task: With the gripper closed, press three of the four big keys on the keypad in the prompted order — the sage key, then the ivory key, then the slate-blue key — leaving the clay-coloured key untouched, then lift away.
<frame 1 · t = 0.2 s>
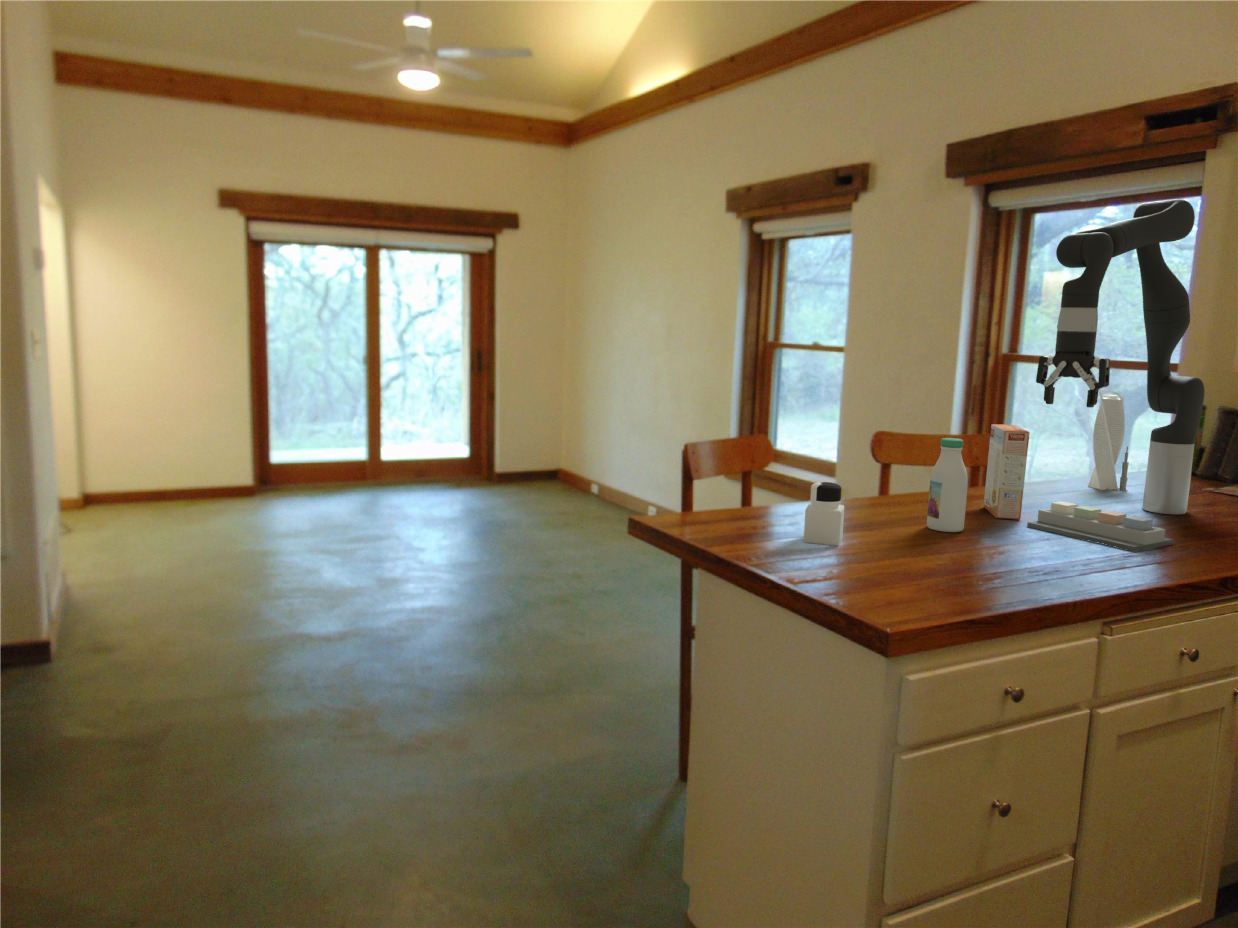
hand: (1069, 405, 190), 28 cm above the table, tool pointing down, fingers open, 8 cm apart
key ivory: (1063, 509, 197), point 4 cm above the table, slide at 0.0 cm
cracker box: (1001, 514, 211), on the table
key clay: (1111, 519, 188), point 4 cm above the table, slide at 0.0 cm
milk bottle: (944, 529, 194), on the table
key slate: (1137, 524, 183), point 4 cm above the table, slide at 0.0 cm
keypad: (1097, 535, 191), on the table
skyscraper: (1103, 490, 247), on the table
medicine bottle: (823, 541, 181), on the table
key sage: (1087, 514, 192), point 4 cm above the table, slide at 0.0 cm
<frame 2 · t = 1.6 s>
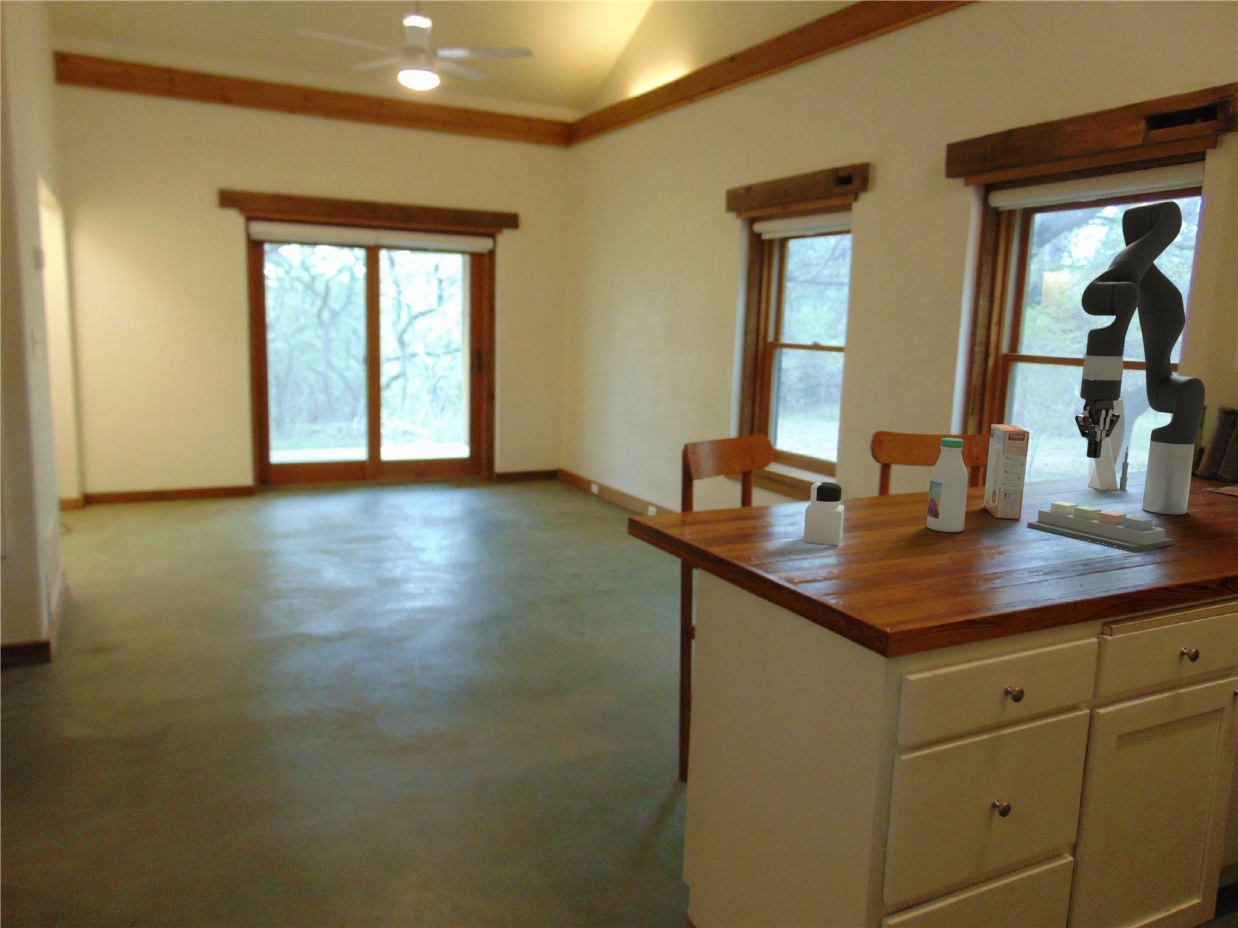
hand: (1093, 457, 190), 17 cm above the table, tool pointing down, fingers closed
nothing on the table moved.
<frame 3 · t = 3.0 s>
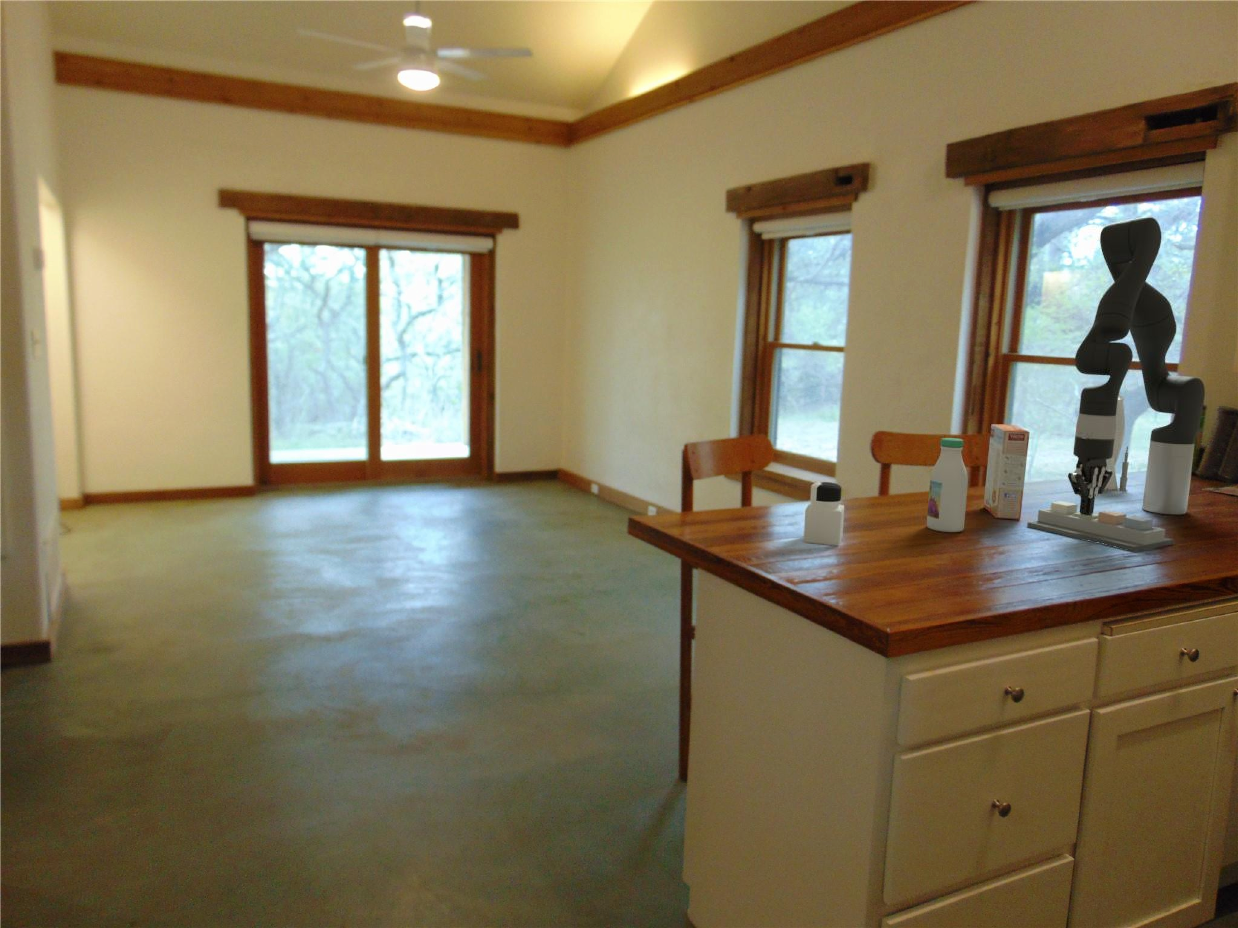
hand: (1086, 513, 192), 4 cm above the table, tool pointing down, fingers closed
key sage: (1086, 520, 193), point 3 cm above the table, slide at -1.3 cm, touching gripper
everything else where it was.
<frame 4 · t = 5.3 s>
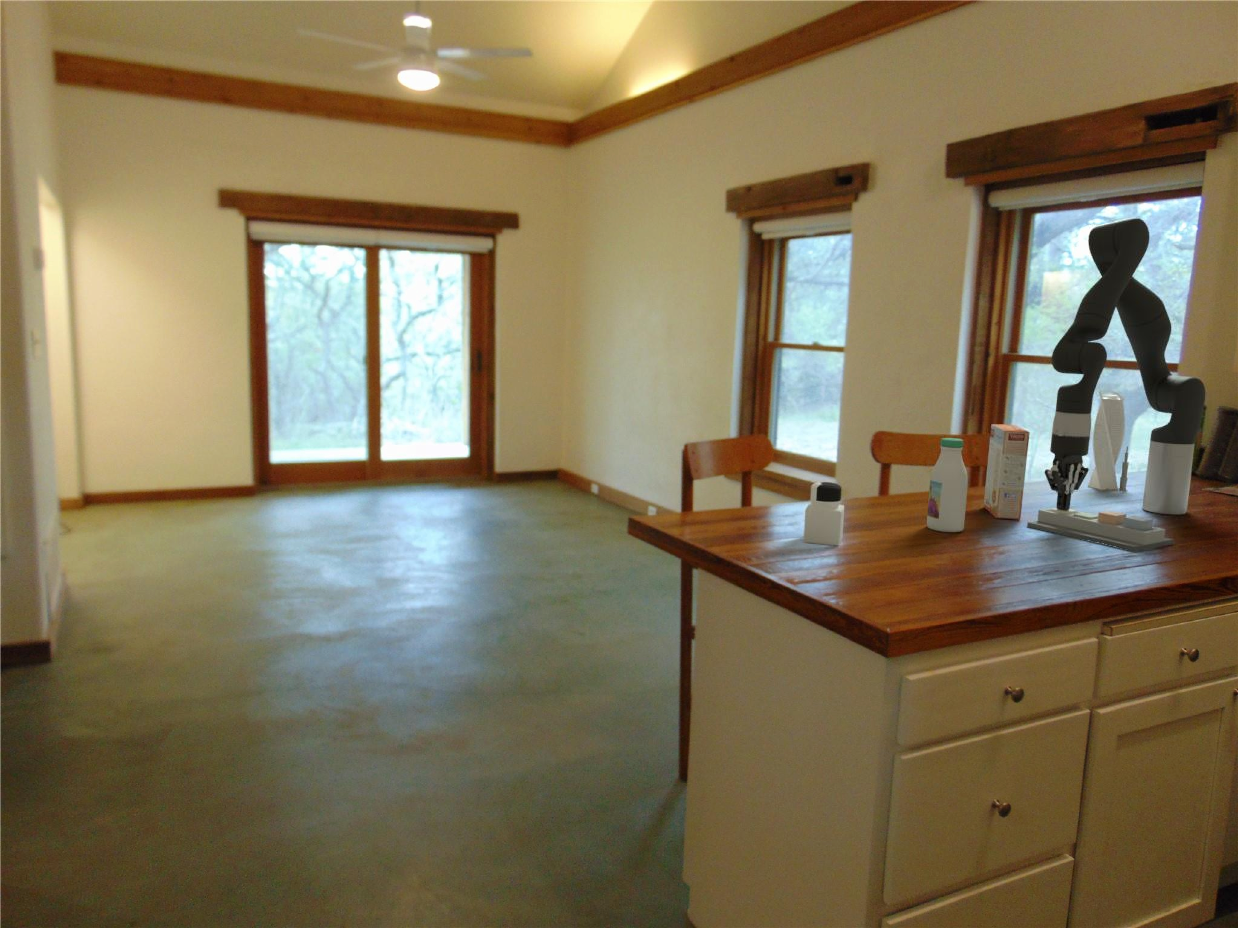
hand: (1062, 509, 197), 4 cm above the table, tool pointing down, fingers closed
key ivory: (1063, 515, 197), point 3 cm above the table, slide at -1.4 cm, touching gripper
key sage: (1086, 521, 193), point 2 cm above the table, slide at -1.5 cm
everything else where it was.
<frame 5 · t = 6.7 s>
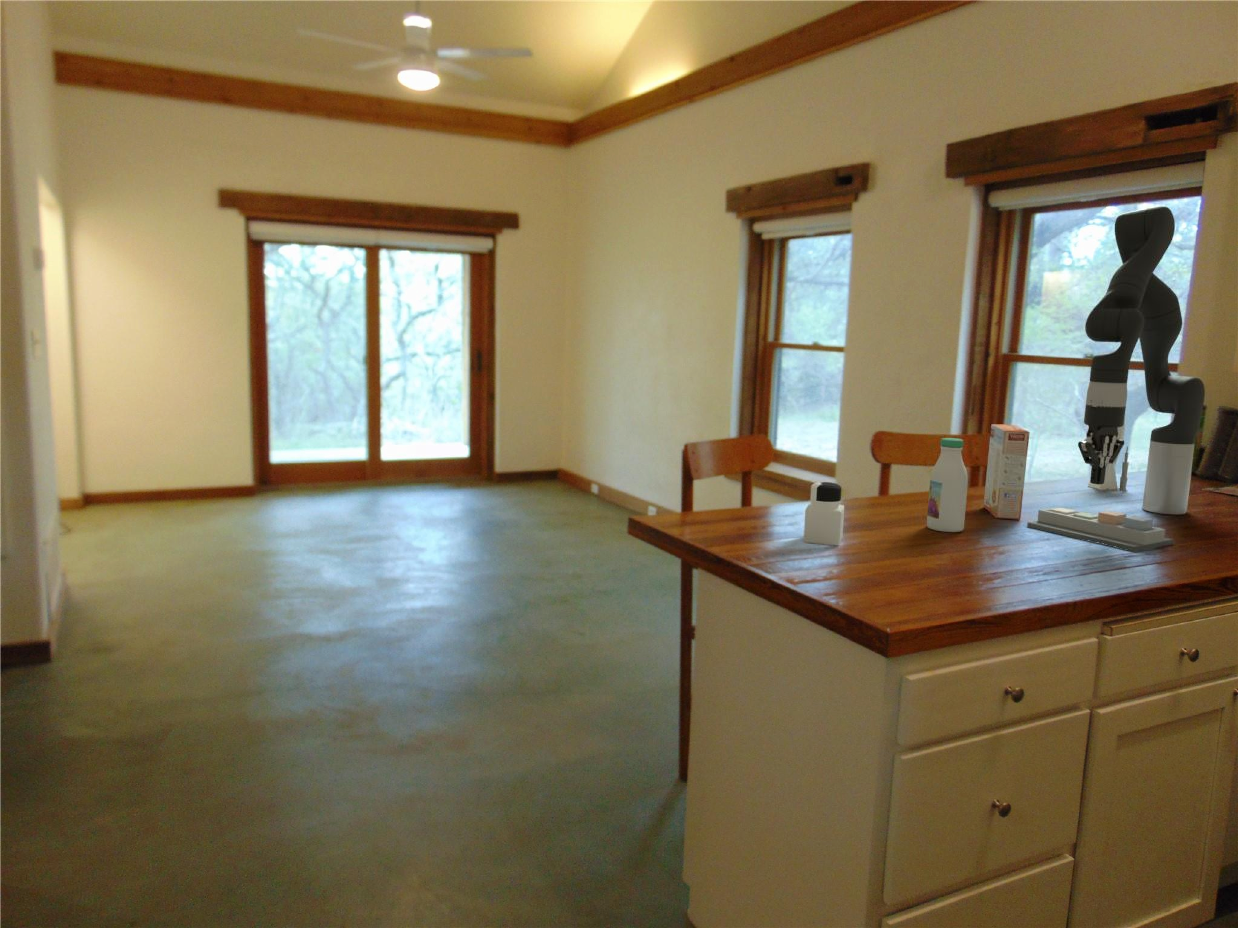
hand: (1096, 483, 190), 11 cm above the table, tool pointing down, fingers closed
key ivory: (1063, 516, 197), point 2 cm above the table, slide at -1.5 cm
everything else where it was.
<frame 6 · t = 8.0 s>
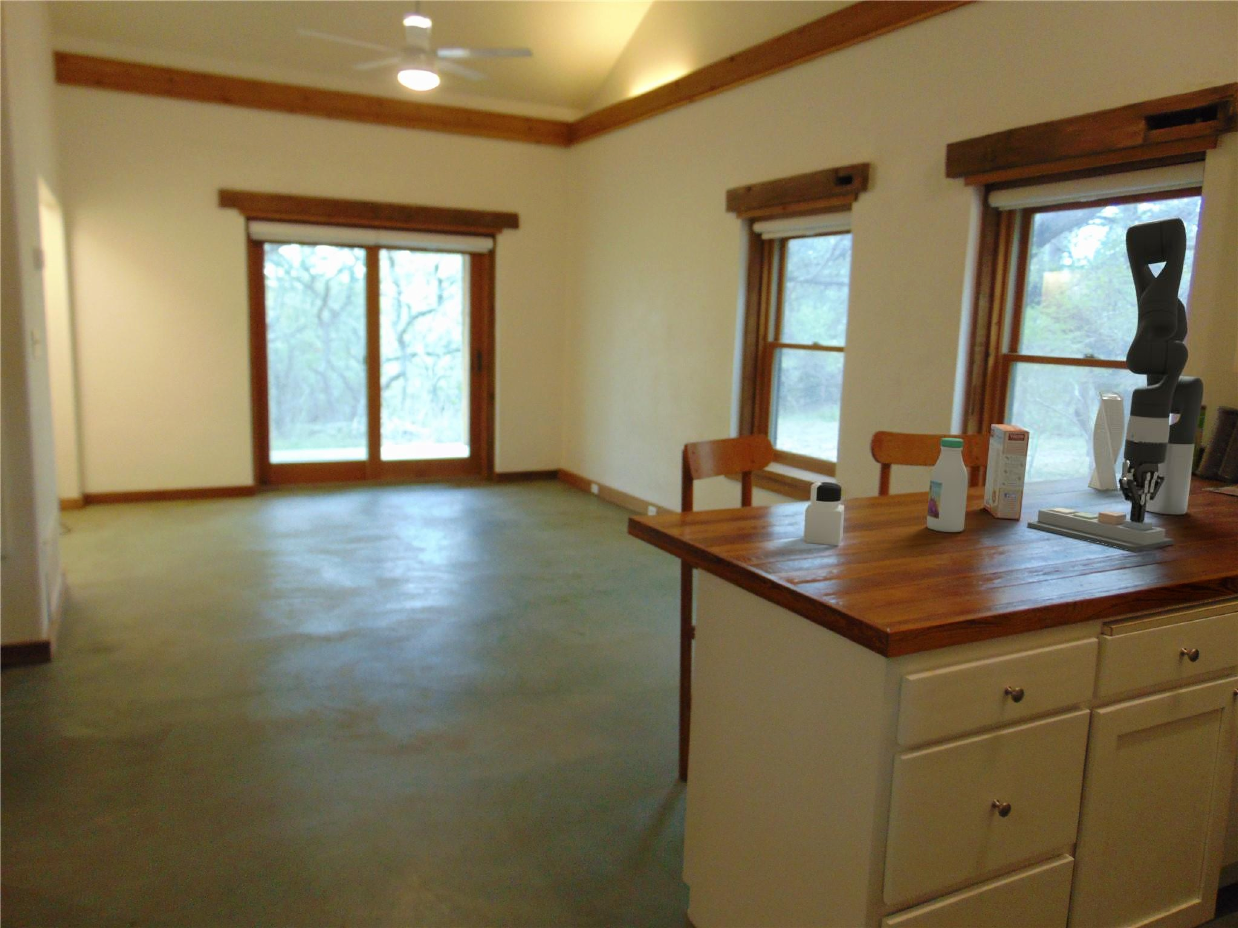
hand: (1136, 521, 183), 5 cm above the table, tool pointing down, fingers closed
key slate: (1137, 527, 183), point 3 cm above the table, slide at -0.6 cm, touching gripper
everything else where it was.
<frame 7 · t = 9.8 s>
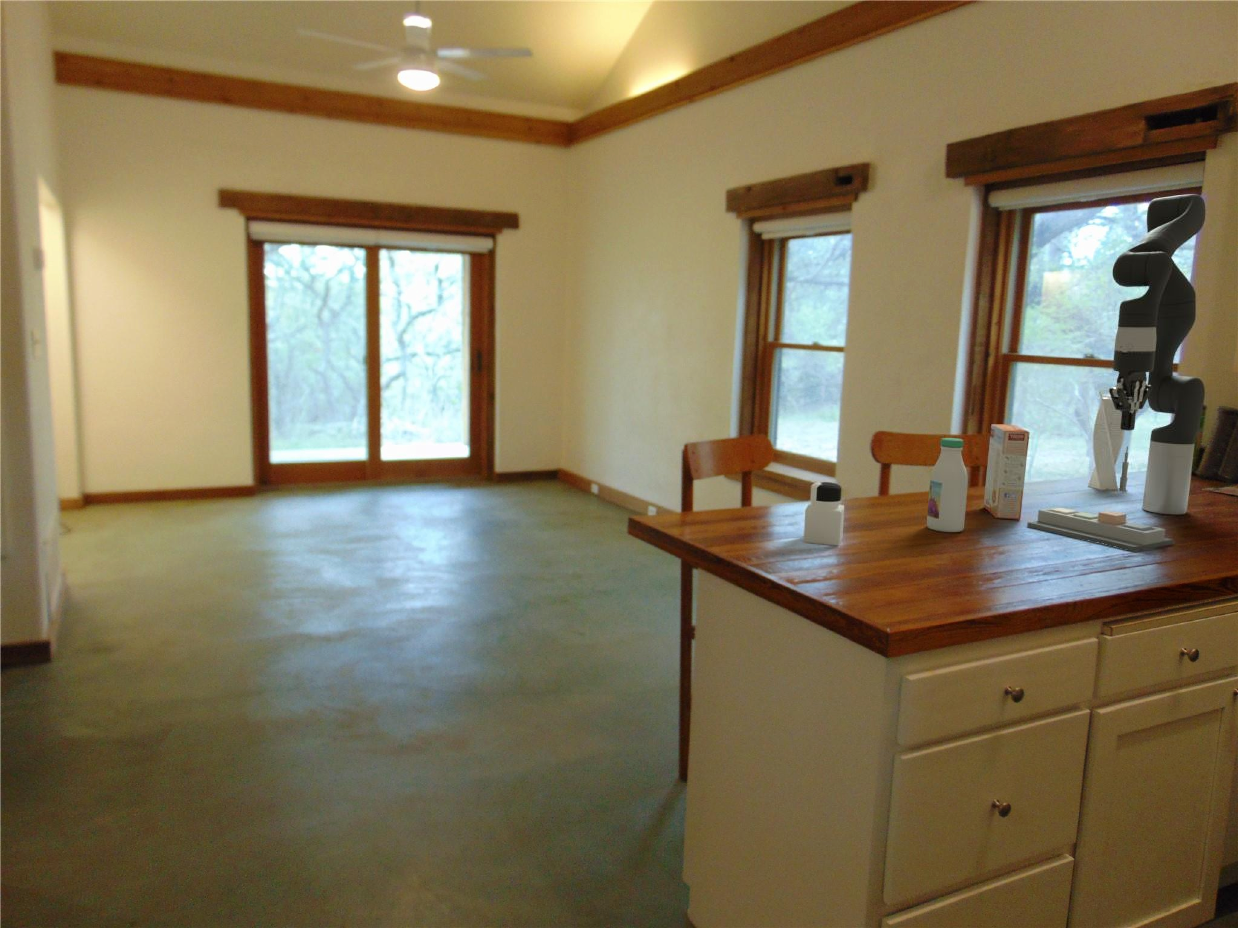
hand: (1127, 429, 190), 23 cm above the table, tool pointing down, fingers closed
key slate: (1136, 531, 183), point 2 cm above the table, slide at -1.5 cm
everything else where it was.
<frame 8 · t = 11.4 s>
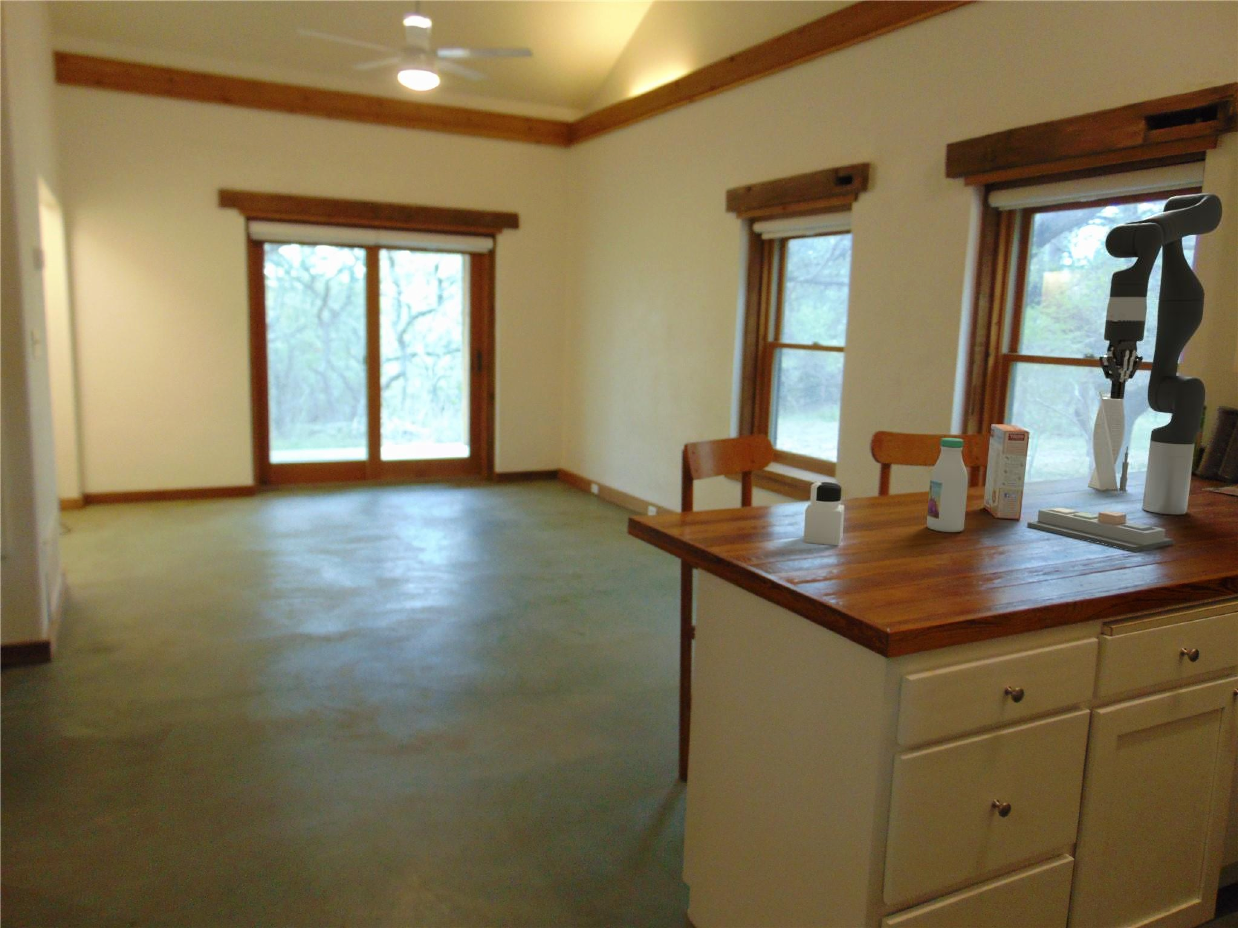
hand: (1116, 398, 193), 29 cm above the table, tool pointing down, fingers closed
nothing on the table moved.
at the end: key sage slide at -1.5 cm; key ivory slide at -1.5 cm; key slate slide at -1.5 cm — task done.
